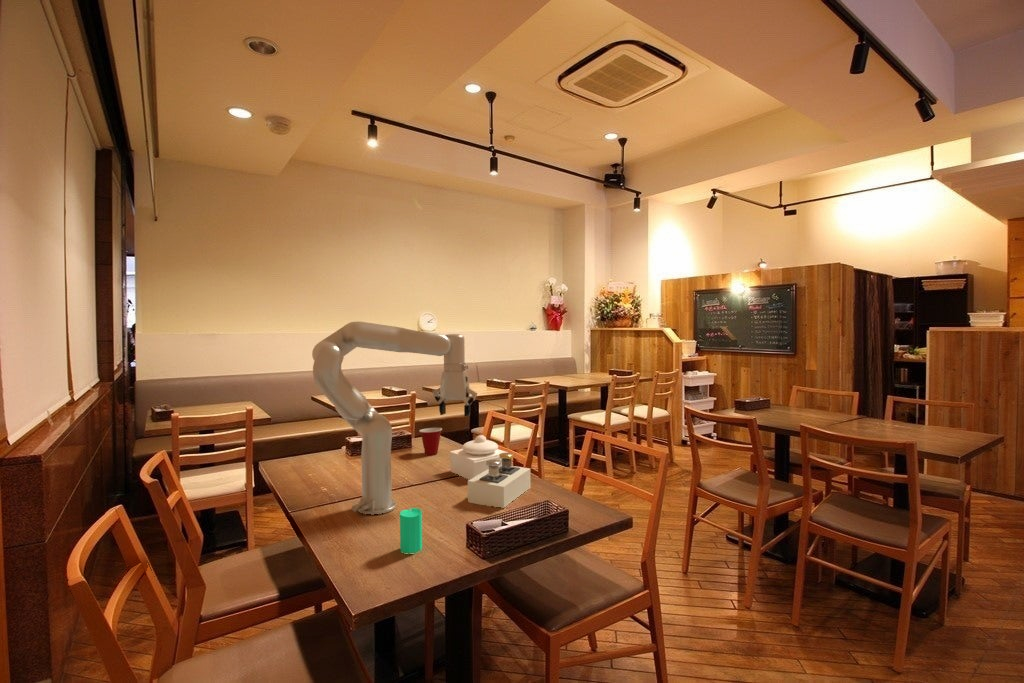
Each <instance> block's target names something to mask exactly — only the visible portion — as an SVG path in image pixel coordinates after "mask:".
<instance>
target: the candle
mask: <svg viewBox="0 0 1024 683" xmlns="http://www.w3.org/2000/svg"><path fill="white" fill-rule="evenodd" d="M409 507H410V508H409V509H402V510H401V511H400V512H399V539H400V541H399V545H400V546H399V550H401V551H400V553H401V552H403V553H408V554H410V553H416V552H418V551H420V550H421V549H422V550H423V510H422V509H420V508H418V507H412V506H409ZM422 550H421V551H422Z"/></svg>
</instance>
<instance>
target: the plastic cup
mask: <svg viewBox="0 0 1024 683" xmlns="http://www.w3.org/2000/svg"><path fill="white" fill-rule="evenodd" d="M442 431H443V428H442V427H430V428H429V427H427V428H423V429H422V428H421V429H419V433H420V436H421V440H422V446H423V450H424V455H426V454H427V455H426V456H435V455H434V454H436V455H437V454H438V452H439V445H440V440H441V439H440V438H441V433H442Z"/></svg>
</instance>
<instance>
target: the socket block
mask: <svg viewBox="0 0 1024 683" xmlns="http://www.w3.org/2000/svg"><path fill="white" fill-rule="evenodd" d="M531 488H532V487H531V468H529V467H522V466H516V465H515V466H514V465H511V471H510V472H507V471H502V464H501V465H500V466H499V479H497V480H493V479H489V469H488V470H486V471H484V472H482V473H481V474H479V475H477V476H475V477H474V478H472V479H470V480H467V503H469V504H476V505H481V506H485V505H486V506H487V507H491V506H494V507H493V508H496V507H501V508H500V509H502V508H504V507H506V506H507V505H508V504H509V503H511V502H512V501H513V500H515V499H516V498H517V497H519V496H520V495H521V494H523V493H524V492H525V491H526V492H528V491H529V490H530V489H531ZM528 489H529V490H528ZM527 490H528V491H527ZM526 492H525V493H526ZM525 493H524V494H525ZM524 494H523V495H524ZM521 496H522V495H521ZM521 496H520V497H521ZM520 497H519V498H520ZM517 499H518V498H517ZM517 499H516V500H517ZM516 500H515V501H516ZM512 503H513V502H512ZM512 503H511V504H512ZM508 506H509V505H508ZM508 506H507V507H508ZM507 507H506V508H507Z"/></svg>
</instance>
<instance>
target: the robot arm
mask: <svg viewBox="0 0 1024 683" xmlns="http://www.w3.org/2000/svg"><path fill="white" fill-rule="evenodd" d="M465 347H466V346H465V337H464V335H463V334H459V333H448V334H441V333H434V332H427V331H421V330H413V329H410V328H405V327H400V326H399V327H398V326H393V325H387V324H381V323H373V322H365V321H351V322H348V323H346V324H345V325H344V326H341V327H340V328H339V329H337V330H336V331H334V332H333V333H331V334H330V335H328V336H327V337H325V338H323V339H322V340H321V341H319V342H318V343H316V345H314V347H313V349H312V353H311V355H312V359H313V366H312V375H313V376H312V377H313V381H314V383H315V385H316V386H317V388H318V389H319V390H320V391H321V393H322V394H323V396H325V397H326V399H328V402H330V403H331V404H332V405H333V406H334V409H335V411H336V412H337V413H338V414H339V415H340V416H341V418H343V420H344V421H346V422H347V424H349V425H350V426H351V427H352V428H353V430H355V431H356V433H358V434H359V436H361V437H362V438H361V439H362V442H361V454H360V455H361V456H360V457H361V458H360V459H361V462H360V463H361V497H360V498H359V501H358V503H356V504H354V505H352V506H351V510H352V512H355V513H356V511H358V512H359V513H360V514H362V513H363V514H362V515H366V514H371V515H370V516H375V515H374V514H378V515H382V513H383V514H387V513H389V512H391V511H393V510H395V509H396V508H397V501H396V500H394V499H392V494H393V493H392V441H393V440H392V439H393V428H392V427H393V426H392V423H391V422H390V420H388V418H387V417H386V416H384V415H383V414H381V413H379V412H378V411H377V409H375V408H374V406H372V405H371V404H370V403H369V402H368V399H367V398H366V396H365V395H364V394H363V393H362V392H360V391H359V390H358V389H357V388H356V387H355V385H354V384H352V382H351V381H350V380H349V379H348V378H347V376H346V375H344V372H343V370H342V364H343V361H344V359H345V358H344V357H345V356H346V355H348V354H349V353H350V352H352V351H353V350H355V349H356V348H360V349H361V348H362V349H368V350H378V351H385V352H393V353H410V354H411V353H412V354H419V355H420V354H421V355H428V356H436V357H443V371H442V372H441V378H440V387H439V388H437V389H435V390H432V395H433V396H434V399H435V400H436V402H437V403H438V405H439V406H438V410H439V414H440V416H443V415H445V414H446V413H447V410H446V406H447V404H446V402H445V401H447V400H455V401H456V400H457V401H463V403H464V406H463V408H464V409H463V412H464V413H463V415H464V417H468V416H470V414H471V405H472V404H473V402H474V401H476V398H477V396H478V393H477V392H476V391H474V390H473V389H471V387H470V381H469V375H468V371H466V370H469V365H467V364H466V362H465V359H466V358H465V352H466V351H465V350H466V349H465ZM439 393H440V395H439Z"/></svg>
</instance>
